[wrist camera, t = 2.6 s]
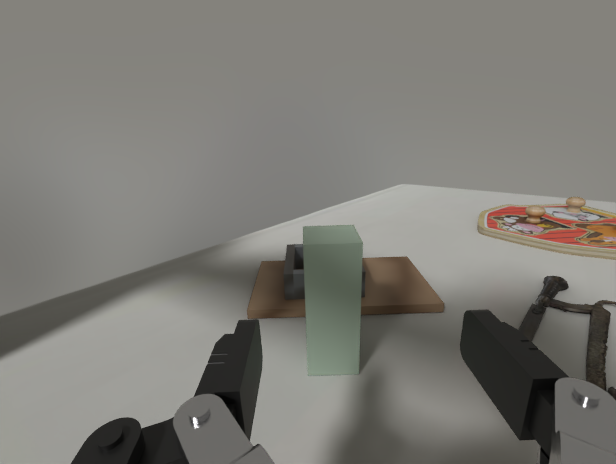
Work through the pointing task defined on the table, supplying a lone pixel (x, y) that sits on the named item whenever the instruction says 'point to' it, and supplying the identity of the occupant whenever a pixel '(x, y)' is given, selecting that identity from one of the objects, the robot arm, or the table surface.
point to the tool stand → (374, 293)
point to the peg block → (332, 298)
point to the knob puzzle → (554, 227)
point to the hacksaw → (597, 327)
